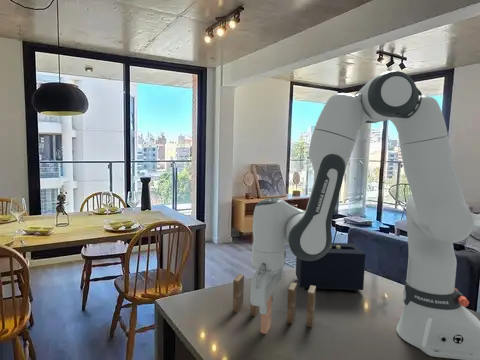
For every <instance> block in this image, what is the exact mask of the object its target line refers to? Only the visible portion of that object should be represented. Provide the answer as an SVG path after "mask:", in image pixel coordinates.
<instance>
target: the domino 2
mask: <svg viewBox="0 0 480 360" xmlns="http://www.w3.org/2000/svg"><path fill="white" fill-rule="evenodd" d="M249 305H250V308H249V309H250V310H249V311H250V313H249V315H250V317H251V316H252V317H256V316H257V314H258V313H259V312H260V307H259V306H254V305H252V304H251V303H250V304H249Z"/></svg>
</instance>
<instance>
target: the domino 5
mask: <svg viewBox="0 0 480 360" xmlns="http://www.w3.org/2000/svg"><path fill="white" fill-rule="evenodd" d="M316 290H317V288H316V286H312V285H310V288H309V290H307V304H306V327H308V328H313V326H314V322H315V316H316V315H315V314H316V311H315V310H316V295H317V294H316V293H317V291H316Z"/></svg>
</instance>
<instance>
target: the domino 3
mask: <svg viewBox="0 0 480 360" xmlns="http://www.w3.org/2000/svg"><path fill="white" fill-rule="evenodd" d="M272 305H273V302H272V294H271V296H270V298H269V299H268V301H267V306H268V308H267V313H266V314H261V313H260V334H264V335H267V334H268V331H269V330H270V327H271V326H272Z"/></svg>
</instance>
